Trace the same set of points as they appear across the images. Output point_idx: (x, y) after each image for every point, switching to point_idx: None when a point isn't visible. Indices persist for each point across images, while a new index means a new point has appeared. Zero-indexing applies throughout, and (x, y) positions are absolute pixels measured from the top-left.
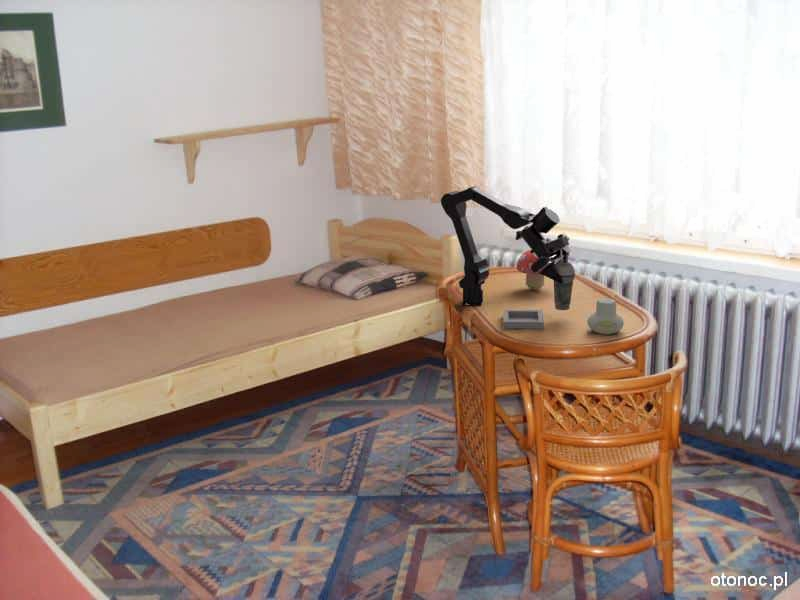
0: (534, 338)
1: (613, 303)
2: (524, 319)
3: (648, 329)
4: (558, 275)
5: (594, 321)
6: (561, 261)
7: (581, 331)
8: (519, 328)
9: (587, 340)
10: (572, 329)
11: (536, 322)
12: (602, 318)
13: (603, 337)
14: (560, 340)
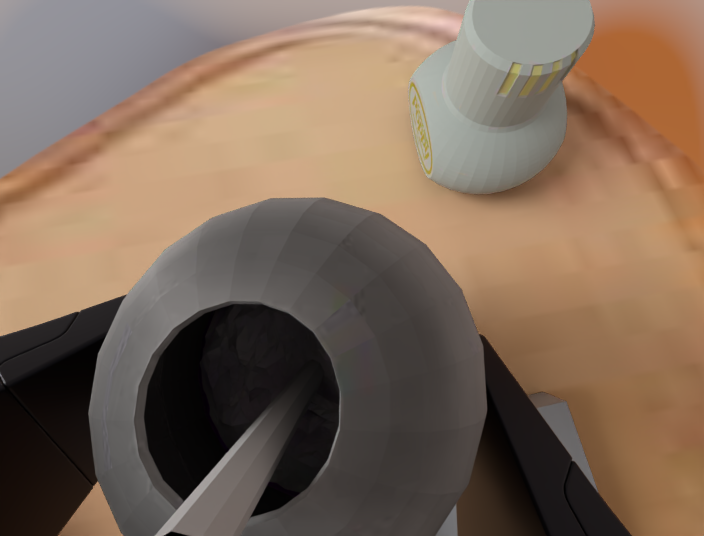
0: (686, 413)
1: None
2: (449, 522)
3: (389, 12)
4: (534, 414)
5: (560, 139)
6: (253, 505)
7: (500, 226)
8: None
9: (606, 184)
10: (487, 266)
11: (579, 442)
12: (559, 93)
13: None
14: (658, 290)
